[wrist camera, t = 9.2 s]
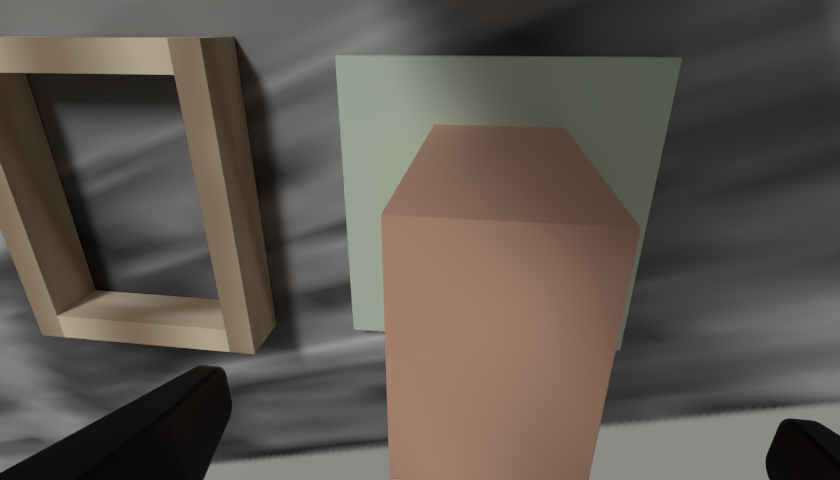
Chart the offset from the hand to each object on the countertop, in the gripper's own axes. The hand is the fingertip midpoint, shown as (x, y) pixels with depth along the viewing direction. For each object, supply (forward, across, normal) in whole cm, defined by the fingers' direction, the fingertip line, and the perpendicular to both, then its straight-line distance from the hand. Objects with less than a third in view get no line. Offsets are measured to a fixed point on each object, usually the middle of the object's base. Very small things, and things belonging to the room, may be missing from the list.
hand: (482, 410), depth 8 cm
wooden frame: (+10, +13, 0) cm, 16 cm away
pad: (+10, 0, 0) cm, 10 cm away
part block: (+9, 0, 0) cm, 9 cm away
